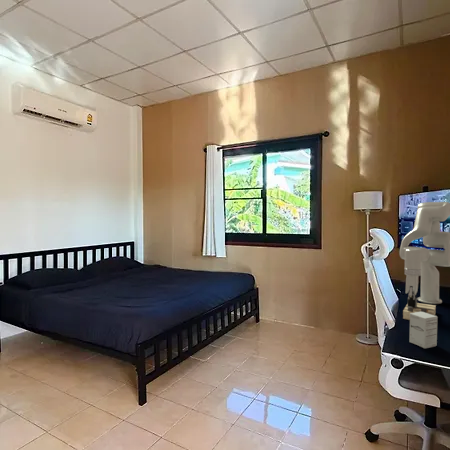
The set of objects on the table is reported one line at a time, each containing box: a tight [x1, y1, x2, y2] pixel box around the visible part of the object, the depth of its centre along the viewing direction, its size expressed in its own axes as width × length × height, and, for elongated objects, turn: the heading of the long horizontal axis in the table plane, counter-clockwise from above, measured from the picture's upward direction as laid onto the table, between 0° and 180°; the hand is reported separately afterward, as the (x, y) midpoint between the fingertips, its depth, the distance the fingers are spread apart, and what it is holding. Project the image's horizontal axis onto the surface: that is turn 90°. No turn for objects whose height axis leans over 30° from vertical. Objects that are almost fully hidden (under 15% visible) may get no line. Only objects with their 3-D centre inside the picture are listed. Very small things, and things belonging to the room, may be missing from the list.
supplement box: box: [408, 311, 438, 349], centre depth 138 cm, size 7×7×13 cm
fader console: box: [402, 302, 437, 321], centre depth 174 cm, size 20×13×6 cm, turn 144°
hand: (412, 305), depth 176 cm, fingers open, 5 cm apart
